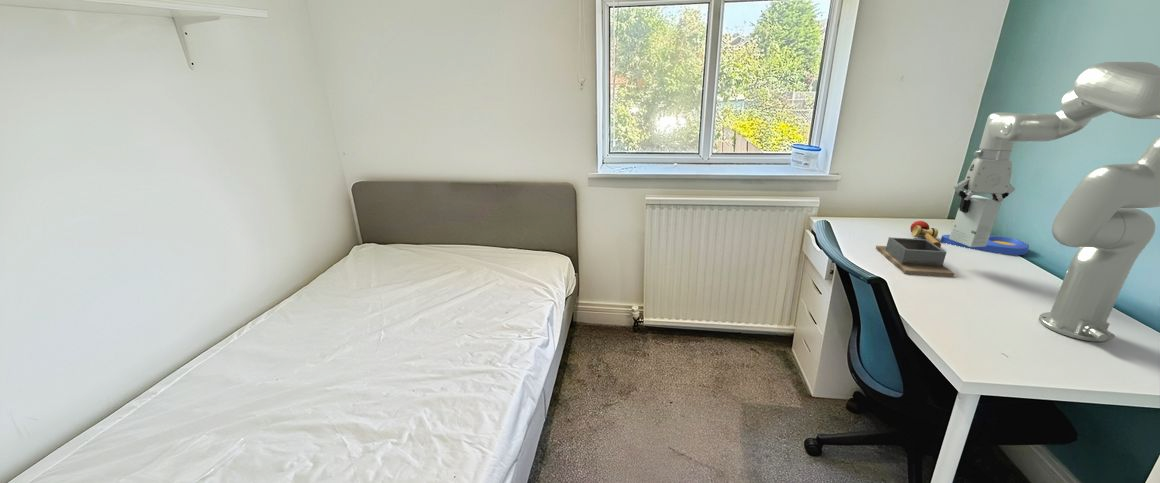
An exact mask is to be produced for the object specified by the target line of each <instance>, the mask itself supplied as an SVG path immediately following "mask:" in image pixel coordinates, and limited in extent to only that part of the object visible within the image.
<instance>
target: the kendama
mask: <svg viewBox="0 0 1160 483" xmlns="http://www.w3.org/2000/svg"><path fill="white" fill-rule="evenodd" d="M909 229H910V233H911V236H912V237H914V238H917V237H924V238H925V239H927V240H929V241H930V242H932V243H933V244H935V245H936V246H938V247H939V248H941V247H942V242H941V241H940V242H939V241H938V239H937V237H938V236H939V230H938V228H935V227H931V228H930V225H929V224H928V222H926V221H924V220H917V221H914V222H913V223H911V225H910V228H909Z"/></svg>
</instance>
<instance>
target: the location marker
mask: <svg viewBox="0 0 1160 483" xmlns="http://www.w3.org/2000/svg"><path fill="white" fill-rule="evenodd" d="M949 237H950V234H944V235H943V234H942V235H941V237H940V238H941V239H940V243H943V242H944V243H943V244H946V243H947V244H946V245H950V244H951V246H955V245H956V246H955V247H959V246H960V248H964V247H965V249H969V248H970V249H969V250H974V249H975V251H981V252H985V253H992V254H998V253H1001V254H1002V255H1006V254H1007V255H1008V256H1024V255H1026V254H1028V251H1029V249H1030V245H1029V243H1027V242H1025V241H1023V242H1022V240H1021V239H1020V240H1019V239H1015V238H1010V237H1008V236H1000V235H990V237H989V240H988V242H987V245H986V246H985V247H969V246H967V245H964V244H961V243H958V242H956V241H953V240H950V239H949ZM1024 242H1025V243H1024ZM1026 243H1027V244H1026ZM1001 254H1000V255H1001Z"/></svg>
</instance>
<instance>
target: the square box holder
mask: <svg viewBox="0 0 1160 483" xmlns="http://www.w3.org/2000/svg"><path fill="white" fill-rule="evenodd" d="M875 250H876V251H878V252H879V253H880V254H881V255H883V256H884V257H885V259H887V260H888V261H889V262H890V263H892V264H893V265H894V267H896V268H897V269H898V270H900V271H901V272H902V273H903V274H905V275H915V276H916V275H919V276H920V275H921V276H931V277H932V276H934V277H951V278H954V276H955V272H953V271H952V270H951V269H949V268H948V267H946V266H945V265H944V262H945V259H946V256H947V252H946V251H945V250H943V249H942V248H941V247H940V248H939V247H938V246H936V245H935V244H933V243H932V242H930V241H929V240H927V239H926V238H925V239H924V238H921V239H920V238H907V237H906V238H905V237H888V239H887V244H886V245H875Z"/></svg>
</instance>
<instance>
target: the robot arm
mask: <svg viewBox="0 0 1160 483" xmlns="http://www.w3.org/2000/svg"><path fill="white" fill-rule="evenodd" d="M1060 108H1061V109H1060V110H1058V111H1055V112H1053V113H1015V112H993V113H990V114H989V115H988V116H987V120H986V122H985V126H984V130H983V134H982V137H981V141H980V144H979V148H978V149H977V150H975V151H973V156H976V158H973V160H972V162H971V164H970V166H969V168H968V170H967V172H966V175H965V178H964V180H961V181H960V182H958V183H957V184H955V185H954V186H953V189H954V190H955V192H956V194H957V195H958V196H959V197H960V199H961V200H960V203H959V207H958V209H959V210H960V211H961V212H964V213H967V212H968V209H969V206H970V202H971V201H970V200H969V199H970V198H971V197H972V196H973V195H975V194H985V195H986V194H987V195H988V194H989V195H991V197H992V198H991V199H992V200H996V201H999V202H1002V201H1004V199H1006V198H1007V197H1009V195H1010V194H1012V193H1013V192H1014V191H1016V188H1015V187H1014V186H1013V185H1012V184H1011V183H1010V182H1011V179H1012V178H1011V177H1012V172H1013V171H1012V170H1013V169H1012V168H1013V161H1012V160H1010V158H1011V154H1012V151H1013V148H1014V145H1015V142H1024V143H1025V142H1050V141H1056V140H1059V139H1061V138H1064V137H1067V136H1069V135H1072V134H1075V133H1077V132H1079V131H1082V130H1083V129H1084V128H1085V127H1086V126H1087V125H1089V123H1090V122H1091V121H1092V119H1094V118H1097V117H1100V116H1102V115H1104V114H1107V113H1110V112H1111V113H1114V114H1117V115H1121V116H1124V117H1127V118H1131V119H1137V120H1160V66H1159V65H1156V64H1154V63H1151V62H1146V61H1104V62H1100V63H1096V64H1094V65H1092V66H1089V67H1087V68H1086V69H1085V70H1083V71H1082V72H1081V73H1080V74H1079V75H1078V76H1077V78H1076V79H1075V81H1074V84H1073V88H1072V89H1070V90H1068V91H1067V92H1066V93H1065V94H1063V96H1062V97H1061V100H1060ZM1159 207H1160V135H1158V136H1157V137H1156V138H1155V139H1154V140H1153V141H1152V142H1151V143H1150V145H1149V146H1148V147H1147V149H1146V150H1145V152H1143V154H1142V155H1141V156H1140V157H1139V158H1138V159H1136V161H1135V162H1133V163H1113V164H1107V165H1102V166H1100V167H1097V168H1095V169H1093V170H1092V171H1090V172H1089V173H1087V174H1086V175H1085V176H1084V177H1083V178H1082V179H1081V180H1080V182H1079V183H1078V184H1077V186H1076V187H1075V188H1074V189H1073V191H1072V192H1071V194H1070V195H1069V197H1068V198H1067V200H1066V201H1065V203H1064V204H1063V205H1062V206H1061V208H1060V209H1059V211H1058V212H1057V213H1056V216H1055V217H1054V219H1053V221H1052V225H1051V233H1052V236H1053V238H1054V239H1055V241H1057V242H1058V243H1059V244H1061V245H1063V246H1065V247H1071V248H1078V250H1077V251H1076V252H1075V254H1074V256H1073V257H1072V259H1071V261H1070V264H1069V265H1068V267H1067V270H1066V273H1065V276H1064V278H1063V280H1062V283H1061V285H1060V287H1059V290H1058V293H1057V295H1056V298H1055V300H1054V302H1053V305H1052V307H1051V309H1050V312H1049V311H1047V312H1042V313H1040V315H1039V317H1038V320H1039V322H1040V324H1042V325H1043V326H1044V327H1046V328H1048V329H1049V330H1051V331H1054V332H1055V333H1059V334H1060V335H1062V336H1063V335H1064V336H1066V337H1070V338H1074V339H1078V340H1082V341H1089V342H1106V341H1109V340H1112V339H1114V338H1115V334H1114V333H1113V332H1111V331H1109V326H1110V324H1111V323H1110V322H1108V318H1110V315H1111V312H1112V311H1113V308H1114V306H1115V304H1116V302H1117V299H1118V297H1119V296H1120V293H1121V292H1122V288H1123V287H1124V284H1125V282H1126V281H1127V278H1128V276H1129V274H1130V272H1131V270H1132V268H1133V265H1134V264H1135V262H1136V260H1137V259H1138V258H1139V256H1140V254H1141V253H1142V252H1143V250H1145V248H1147V245H1148V244H1149V243H1150V242H1151V240H1152V239H1153V237H1154V236H1155V233H1156V222H1155V220H1154V219H1153V217H1152V216H1151V215H1150V214H1149V213H1147V212H1146V211H1145V210H1142V209H1151V208H1159Z"/></svg>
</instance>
